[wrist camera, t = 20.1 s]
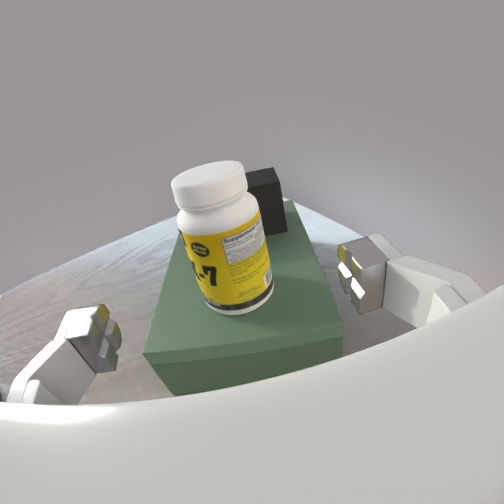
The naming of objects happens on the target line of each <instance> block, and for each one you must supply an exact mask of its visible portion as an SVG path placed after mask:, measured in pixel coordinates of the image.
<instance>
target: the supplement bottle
mask: <svg viewBox="0 0 504 504" xmlns="http://www.w3.org/2000/svg"><path fill="white" fill-rule="evenodd" d="M171 186H172V190H173V193H174V197H175V202H176V204H177V206H178V207H179V209H181V210H180V212H179V214H178V216H177V225H178V229H179V232H180V235H181V237H182V240H183V243H184V246H185V249H186V251H187V254H188V257H189V260H190V263H191V265H192V268H193V271H194V273H195V276H196V278H197V281H198V284H199V286H200V289H201V292H202V294H203V297H204V299H205V301H206V303H207V305H208V306H209V307H210V308H211V309H213V310H214V311H216V312H218V313H221V314H225V315H239V314H244V313H248V312H250V311H253V310H255V309H257V308H258V307H260V306H261V305H262V304H264V303H265V302H266V301H267V300H268V299H269V297H270V296H271V294H272V292H273V288H274V281H273V275H272V270H271V265H270V260H269V255H268V250H267V245H266V240H265V235H264V230H263V225H262V220H261V215H260V210H259V206H258V202H257V200H256V198H255V197H254V196H253V195H252V194H251V193H249V192H247V189H248V186H247V180H246V176H245V172H244V168H243V165H242V164H241V163H240V162H238V161H220V162H213V163H209V164H205V165H201V166H198V167H195V168H192V169H189V170H187V171H185V172H183V173H181V174H179V175H178V176H176V177H175V178H174V179H173V180H172V182H171Z"/></svg>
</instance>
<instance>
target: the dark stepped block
mask: <svg viewBox="0 0 504 504" xmlns="http://www.w3.org/2000/svg"><path fill="white" fill-rule="evenodd" d="M245 176H246V180H247V186H248V189H247V192H249V193H251V194H252V195H253V196H254V197H255V198H256V200H257V202H258V206H259V210H260V215H261V220H262V225H263V230H264V235H265V236H267V235H272V234H277V233H283V232H287V231H288V229H287V223H286V217H285V211H284V204H283V198H282V192H281V187H280V182H279V179H278V177H277V175H276V172H275V170H274V168H273V167H272V168H267V169H262V170H257V171H252V172H247V173H245Z"/></svg>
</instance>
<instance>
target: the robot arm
mask: <svg viewBox="0 0 504 504" xmlns="http://www.w3.org/2000/svg"><path fill="white" fill-rule="evenodd" d="M338 257H339V258H340V260H341V263H340V265H339V266H338V272H339V278H340V283H341V285H342V287H343V289H344V291H345V293H347V294H349V295H351V302H352V304H353V305H354V307H355V308H356V310H357V312H358V313H359V314H362V313H365V312H369V311H372V310H375V309H378V308H381V307H382V308H383V309H384V310H386V311H388V312H390V313H392V314H393V315H395V316H397V317H399V318H401V319H402V320H404V321H406V322H408V323H409V324H411V325H413V326H415V327H417V329H414V330H412V331H410V332H407V333H405V334H403V335H400V336H398V337H395V338H393V339H391V340H388V341H386V342H383V343H380V344H378V345H375V346H373V347H370V348H367V349H364V350H362V351H359V352H356V353H353V354H350V355H348V356H345V357H342V358H339V359H336V360H332V361H329V362H326V363H323V364H320V365H316V366H313V367H310V368H306V369H303V370H299V371H296V372H292V373H288V374H285V375H281V376H277V377H273V378H269V379H265V380H261V381H257V382H252V383H248V384H243V385H239V386H234V387H229V388H224V389H219V390H214V391H208V392H203V393H197V394H191V395H184V396H177V397H170V398H163V399H154V400H145V401H135V402H124V403H109V404H89V405H77V404H78V402H79V401H80V399H81V397H82V396H83V394H84V393H85V391H86V390H87V388H88V387H89V385H90V384H91V382H92V381H93V379H94V378H95V376H96V375H97V373H104V372H110V371H115V370H116V365H117V361H118V355H117V353H116V351H117V350H118V349H119V348H120V347H121V341H122V339H121V332H120V329H119V327H118V325H117V323H116V322H115V321H114V320H112V319H110V318H109V313H110V312H109V311H108V309H107V308H106V306H105V305H103V304H97V305H92V306H87V307H82V308H77V309H73V310H70V311H68V312H67V313H66V315H65V317H64V319H63V322H62V324H61V326H60V328H59V331H58V333H57V335H56V337H55V340H54V341H51V342H50V343H49V344H48V345H47V346H46V347H45V348H44V349H43V350H42V351H41V352H40V353H39V354H38V355H37V356H36V357H35V358H34V359H33V360H32V361H31V362H30V363H29V364H28V365H27V366H26V367H25V368H24V369H23V370H22V372H21V373H20V374H19V375H18V376H17V377H16V378H15V379H14V381H13V384H12V386H11V389H10V392H9V394H8V397H7V400H6V402H0V504H504V284H503V285H501V286H499V287H498V288H496V289H494V290H492V291H491V292H489V293H487V292H486V291H485V290H484V289H483V288H482V287H481V286H480V285H479V284H478V283H477V282H476V281H475V280H474V279H472V277H470V276H469V275H468V274H467V273H464V272H461V271H458V270H455V269H451V268H448V267H445V266H442V265H439V264H436V263H432V262H429V261H426V260H423V259H420V258H416V257H413V256H410V255H407V256H404V255H403V254H402V253H401V252H399V250H398V249H396V248H395V247H394V246H393V245H392V244H391V243H390V242H389V241H388V240H387V239H386V238H385V237H384V236H383V235H382V234H380V233H376V234H373V235H370V236H366V237H364V238H360V239H357V240H354V241H350V242H347V243H343V244H340V245H338Z"/></svg>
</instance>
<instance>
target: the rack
mask: <svg viewBox="0 0 504 504" xmlns="http://www.w3.org/2000/svg"><path fill="white" fill-rule="evenodd" d="M283 204H284V211H285V217H286V223H287V229H288V231H287V232H283V233H277V234H272V235H267V236H265V240H266V245H267V250H268V255H269V260H270V265H271V270H272V275H273V281H274V288H273V292H272V294H271V296H270V297H269V299H268V300H267V301H266V302H265V303H264V304H262V305H261V306H260V307H258V308H257V309H255V310H253V311H250V312H248V313H244V314H239V315H225V314H221V313H218V312H216V311H214V310H213V309H211V308H210V307H209V306H208V305H207V303H206V301H205V299H204V297H203V294H202V292H201V289H200V286H199V284H198V281H197V278H196V276H195V273H194V271H193V268H192V265H191V263H190V260H189V257H188V254H187V251H186V249H185V246H184V243H183V240H182V237H181V235H180V233H179V236H178V239H177V242H176V244H175V247H174V250H173V253H172V256H171V259H170V262H169V265H168V268H167V271H166V274H165V278H164V281H163V284H162V287H161V290H160V294H159V297H158V300H157V303H156V307H155V310H154V314H153V317H152V320H151V324H150V327H149V331H148V335H147V338H146V342H145V346H144V349H143V355H144V356H145V358H146V359H147V361H148V362H149V364H151V366H152V368H153V369H154V370H155V372H156V373H157V375H158V376H159V377H160V379H161V380H162V381H163V383H164V384H165V385H166V386H167V388H168V389H169V390H170V392H171V393H172V394H173V395H176V394H193V393H203V392H208V391H214V390H219V389H224V388H229V387H234V386H239V385H243V384H248V383H252V382H257V381H261V380H265V379H269V378H273V377H277V376H281V375H285V374H288V373H292V372H296V371H299V370H303V369H306V368H310V367H313V366H316V365H320V364H323V363H326V362H329V361H332V360H336V359H339V358H342V338H343V336H342V335H343V321H342V319H341V316H340V313H339V311H338V308H337V306H336V303H335V300H334V298H333V295H332V293H331V290H330V288H329V285H328V283H327V280H326V278H325V275H324V273H323V271H322V268H321V266H320V263H319V261H318V258H317V256H316V254H315V251H314V249H313V247H312V244H311V242H310V240H309V237H308V235H307V233H306V230H305V228H304V226H303V224H302V221H301V219H300V217H299V215H298V212H297V210H296V208H295V206H294V203H293V201H292V200H289V201H284V202H283Z"/></svg>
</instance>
